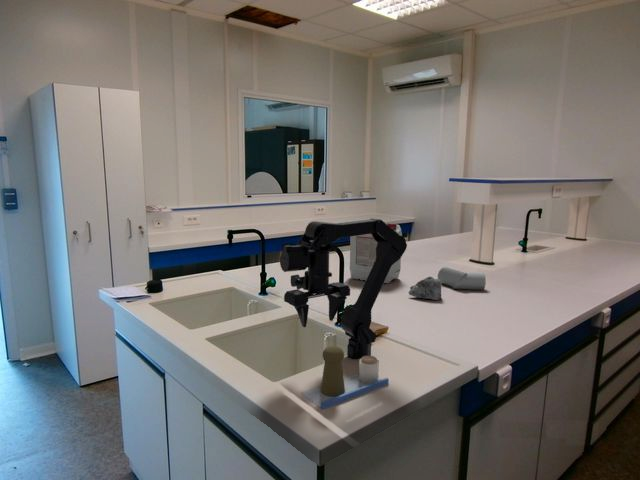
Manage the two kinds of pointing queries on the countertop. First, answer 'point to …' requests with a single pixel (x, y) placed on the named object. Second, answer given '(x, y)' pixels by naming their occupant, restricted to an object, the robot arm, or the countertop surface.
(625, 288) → the countertop surface
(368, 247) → the jerry can
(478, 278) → the bent grey cylinder
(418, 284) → the mineral rock
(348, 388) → the shelf
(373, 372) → the ceramic jar
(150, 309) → the countertop surface
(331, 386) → the olive waisted cylinder
